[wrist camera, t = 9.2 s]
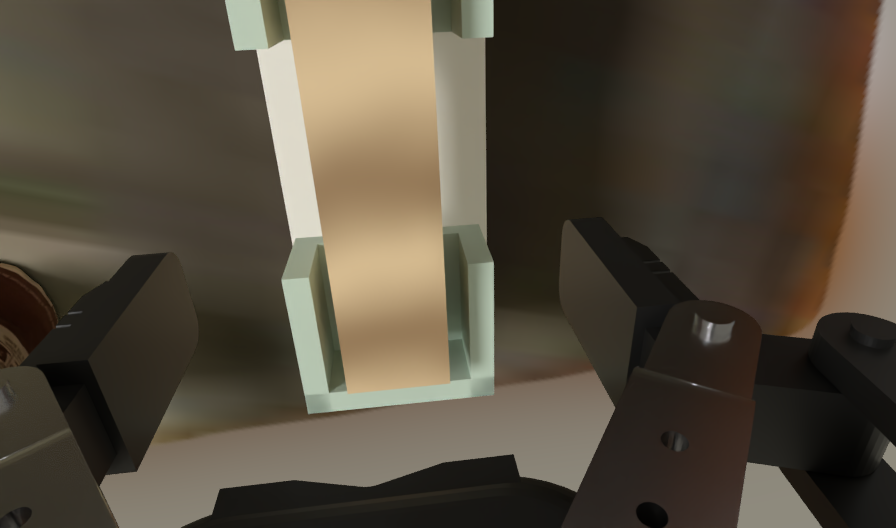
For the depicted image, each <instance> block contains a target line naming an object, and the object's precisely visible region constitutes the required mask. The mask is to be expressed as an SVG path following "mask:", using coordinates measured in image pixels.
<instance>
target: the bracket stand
mask: <svg viewBox="0 0 896 528" xmlns="http://www.w3.org/2000/svg"><path fill="white" fill-rule="evenodd" d="M225 3H226V8H227V13H228V18H229V23H230V28H231V32H232V37H233V42H234V47H235V50H254V49H257V55H258V60H259V66H260V71H261V76H262V82H263V87H264V93H265V98H266V103H267V109H268V114H269V120H270V125H271V130H272V136H273V141H274V147H275V152H276V157H277V163H278V168H279V174H280V179H281V185H282V190H283V195H284V201H285V206H286V212H287V217H288V222H289V228H290V233H291V239H292V244H293V248H292V251H291V253H290V256H289V259H288V262H287V265H286V268H285V271H284V274H283V277H282V285H283V290H284V295H285V300H286V305H287V310H288V315H289V320H290V325H291V330H292V335H293V340H294V345H295V350H296V355H297V360H298V365H299V369H300V374H301V379H302V384H303V389H304V394H305V399H306V404H307V409H308V414H311V413H321V412H331V411H341V410H351V409H360V408H370V407H380V406H390V405H399V404H409V403H419V402H429V401H439V400H448V399H458V398H468V397H477V396H487V395H494V261H493V259H492V256H491V254H490V251H489V249H488V246H487V208H486V82H485V37H493V0H431V13H432V33H433V52H434V72H435V92H436V111H437V131H438V151H439V170H440V190H441V209H442V229H443V249H444V268H445V288H446V308H447V327H448V347H449V367H450V384H441V385H431V386H421V387H411V388H402V389H392V390H382V391H372V392H363V393H353V394H348V393H347V387H346V380H345V374H344V368H343V362H342V355H341V349H340V343H339V337H338V330H337V324H336V318H335V312H334V305H333V299H332V293H331V287H330V280H329V274H328V268H327V262H326V255H325V249H324V243H323V237H322V230H321V224H320V218H319V212H318V205H317V199H316V193H315V187H314V180H313V174H312V168H311V162H310V155H309V149H308V143H307V137H306V130H305V124H304V118H303V112H302V105H301V99H300V93H299V87H298V80H297V74H296V68H295V62H294V55H293V49H292V43H291V37H290V30H289V24H288V18H287V12H286V5H285V0H225Z"/></svg>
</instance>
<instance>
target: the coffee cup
mask: <svg viewBox="0 0 896 528" xmlns="http://www.w3.org/2000/svg"><path fill="white" fill-rule="evenodd" d="M57 324H58V318H57V314H56V311H55V309H54V306H53V304H52V302H51V301H50V299H49V298H48V297H47V295H46V294H45V292H44V290H43V289H42V287H41V286H40V285H39V284H38V283H36V282H35V281H33V280H32V279H31V278H30V277H28V275H27V274H25V273H24V272H23V271H22V270H21V269H19V268H17V267H16V266H12V265H9V264H4V263H0V369H3V368H8V367H16V366H19V365H20V364H21V363H22V362H23V361H24V360H25V359H26V358H27V357H28V355H29V354H30V353H31V352H32V351H33V350H34V349H35V348H36V347H37V346H38V344H39V343H40V342H41V341H42V340H43V339H44V338H45V337H46V336H47V335H48V334H49V332H50V331H51V330H52V329H56V325H57Z"/></svg>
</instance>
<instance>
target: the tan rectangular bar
mask: <svg viewBox="0 0 896 528" xmlns="http://www.w3.org/2000/svg"><path fill="white" fill-rule="evenodd" d="M285 5H286V12H287V18H288V24H289V30H290V37H291V43H292V49H293V55H294V62H295V68H296V74H297V80H298V87H299V93H300V99H301V105H302V112H303V118H304V124H305V130H306V137H307V143H308V149H309V155H310V162H311V168H312V174H313V180H314V187H315V193H316V199H317V205H318V212H319V218H320V224H321V230H322V237H323V243H324V249H325V255H326V262H327V268H328V274H329V280H330V287H331V293H332V299H333V305H334V312H335V318H336V324H337V330H338V337H339V343H340V349H341V355H342V362H343V368H344V374H345V380H346V387H347V393H348V394H353V393H363V392H372V391H382V390H392V389H402V388H411V387H421V386H431V385H441V384H450V367H449V347H448V327H447V308H446V288H445V268H444V249H443V229H442V209H441V190H440V170H439V151H438V131H437V111H436V92H435V72H434V52H433V33H432V13H431V0H285Z"/></svg>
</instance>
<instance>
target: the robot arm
mask: <svg viewBox="0 0 896 528" xmlns="http://www.w3.org/2000/svg"><path fill="white" fill-rule="evenodd" d="M559 297H560V303H561V307H562V310H563V312H564V314H565V316H566V318H567V320H568V322H569V323H570V325H571V327H572V329H573V331H574V333H575V334H576V336H577V338H578V340H579V342H580V344H581V345H582V347H583V349H584V351H585V353H586V355H587V356H588V358H589V360H590V362H591V364H592V366H593V367H594V369H595V371H596V373H597V375H598V377H599V378H600V380H601V382H602V384H603V386H604V388H605V389H606V391H607V393H608V395H609V397H610V399H611V400H612V402H613V404H614V406H615V411H614V413H613V415H612V417H611V419H610V421H609V424H608V426H607V428H606V430H605V432H604V434H603V437H602V439H601V441H600V443H599V445H598V448H597V450H596V452H595V454H594V457H593V458H592V461H591V463H590V465H589V467H588V469H587V472H586V474H585V476H584V478H583V481H582V483H581V485H580V487H579V489H578V492H575V491H572V490H570V489H568V488H565V487H562V486H559V485H556V484H553V483H550V482H547V481H542V480H537V479H532V478H526V477H520V476H519V472H518V469H517V465H516V461H515V458H514V455H513V454H512V455H504V456H496V457H487V458H478V459H470V460H462V461H453V462H445V463H441V464H438V465H435V466H432V467H429V468H427V469H423V470H420V471H417V472H414V473H411V474H409V475H406V476H403V477H400V478H397V479H394V480H391V481H388V482H385V483H382V484H379V485H376V486H371V487H357V486H347V485H337V484H327V483H317V482H307V481H297V480H292V481H284V482H276V483H267V484H259V485H250V486H241V487H233V488H224V489H220V490H219V493H218V497H217V500H216V504H215V507H214V510H213V513H212V515H210V516H207V517H204V518H201V519H199V520H197V521H195V522H192V523H190V524H188V525H185V526H183V527H181V528H737V524H738V517H739V511H740V504H741V498H742V490H743V484H744V478H745V471H746V465H747V462H750V463H757V464H765V465H771V466H778V467H779V468H780V470H781V471H782V473H783V474H784V476H785V477H786V478H787V480H788V481H789V482H790V484H791V485H792V487H793V488H794V489H795V491H796V492H797V493H798V495H799V496H800V498H801V499H802V500H803V502H804V503H805V504H806V506H807V507H808V509H809V510H810V511H811V513H812V514H813V515H814V517H815V518H816V519H817V521H818V522H819V524H820V525H821V526H822V528H896V472H895V471H894V470H893V469H892V468H891V467H890V466H889V465H888V464H887V463H886V462H885V460H884V459H883V458H882V457H883V455H884V452H885V450H886V448H887V446H888V444H889V442H892V444H893V445H894V446H895V447H896V324H895V323H893V322H890V321H887V320H884V319H881V318H878V317H874V316H870V315H865V314H859V313H848V312H847V313H832V314H829V315H826V316H824V317H822V318H821V319H820V320H819V322H818V323H817V326H816V329H815V332H814V335H813V338H812V339H805V338H796V337H786V336H775V335H767V334H762V329H761V326H760V325H759V324H758V322H757V321H756V320H755V319H754V318H753V317H751V316H750V315H749V314H747V313H746V312H744V311H742V310H740V309H738V308H736V307H733V306H730V305H727V304H724V303H720V302H715V301H707V300H699V299H698V298H697V297H696V296H695V295H694V294H693V293H692V292H691V291H690V290H689V289H688V288H687V287H686V286H685V285H684V284H683V283H682V282H681V281H680V280H679V278H678V277H677V276H676V275H675V274H674V273H673V272H671V273H670V269H669V268H668V267H667V266H666V265H665V264H664V263H663V262H660V259H659V258H658V257H657V256H656V255H655V254H654V253H653V252H652V251H651V250H650V249H649V248H648V247H647V246H645V245H643V244H641V243H639V242H637V241H635V240H632V239H630V238H628V237H622V238H621V237H620V236H619V235H618V234H617V233H616V232H615V231H614V230H613V229H612V227H611V226H610V225H609V224H608V223H607V222H606V221H605V220H604V219H603V218H602V217H596V218H584V219H572V220H566V221H565V223H564V225H563V230H562V242H561V258H560V274H559ZM198 339H199V325H198V319H197V315H196V312H195V309H194V305H193V302H192V299H191V296H190V292H189V289H188V286H187V283H186V279H185V276H184V273H183V270H182V266H181V263H180V261H179V259H178V257H177V256H176V255H175V254H174V253H172V252H170V253H158V254H146V255H134V256H131V257H130V258H129V259H128V260H127V261H126V262H125V263H124V264H123V265H122V267H121V268H120V269H119V270H118V271H117V272H116V273H115V275H114V276H113V277H112V278H111V279H110V280H109V281H108V282H105V283H103V284H101V285H100V286H98V287H97V288H95V289H93V290H92V291H90V292H88V293H87V294H85V295H84V296H82V297H81V298H80V299H79V301H78V302H77V303H76V304H75V305H74V306H73V307H72V308H71V309H70V310H69V312H68V315H65V316H64V317H63V318H62V319H61V320H60V321H59V323H58V324H57V325H56V329H52V330H51V331H50V332H49V334H48V335H47V336H46V337H45V338H44V339H43V340H42V341H41V342H40V343H39V344H38V346H37V347H36V348H35V349H34V350H33V351H32V352H31V353H30V354H29V355H28V357H27V358H26V359H25V360H24V361H23V362H22V363H21V364H20V365H19V366H16V367H8V368H3V369H0V528H119V526H118V524H117V522H116V520H115V518H114V516H113V513H112V511H111V510H110V507H109V505H108V503H107V501H106V499H105V497H104V495H103V493H102V491H101V489H100V487H99V486H100V484H101V482H102V481H103V479H104V477H105V475H110V474H119V473H128V472H137V470H138V468H139V466H140V464H141V462H142V460H143V458H144V455H145V453H146V451H147V449H148V447H149V445H150V443H151V441H152V439H153V437H154V435H155V433H156V431H157V429H158V426H159V424H160V422H161V420H162V418H163V416H164V414H165V412H166V410H167V408H168V406H169V404H170V402H171V400H172V397H173V395H174V393H175V391H176V389H177V387H178V385H179V383H180V381H181V379H182V377H183V375H184V373H185V370H186V368H187V366H188V364H189V362H190V360H191V358H192V356H193V354H194V352H195V350H196V347H197V344H198Z"/></svg>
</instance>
